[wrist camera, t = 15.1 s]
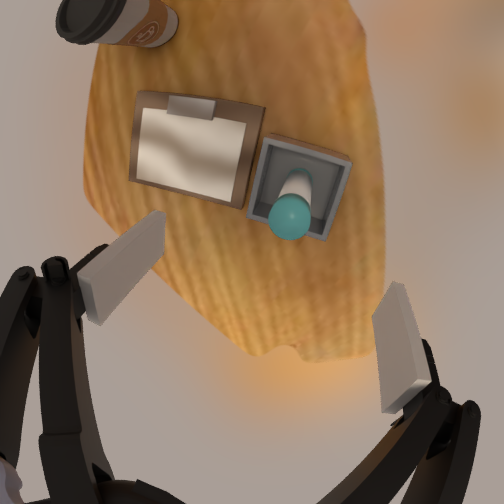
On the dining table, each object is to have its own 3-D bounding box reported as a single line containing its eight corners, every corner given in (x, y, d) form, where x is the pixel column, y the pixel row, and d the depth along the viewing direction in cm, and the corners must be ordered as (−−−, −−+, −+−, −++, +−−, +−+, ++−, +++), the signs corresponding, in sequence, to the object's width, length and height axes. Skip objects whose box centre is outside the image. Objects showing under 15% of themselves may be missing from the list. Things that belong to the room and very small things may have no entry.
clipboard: (142, 90, 31) (134, 90, 29) (265, 107, 29) (262, 107, 28) (133, 178, 38) (125, 182, 36) (243, 206, 36) (239, 212, 34)
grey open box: (271, 133, 31) (264, 137, 26) (347, 155, 30) (352, 163, 26) (255, 203, 35) (245, 217, 31) (324, 224, 35) (325, 241, 30)
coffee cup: (149, 66, 29) (65, 60, 16) (124, 30, 26) (45, 17, 14) (198, 27, 25) (126, -7, 13) (169, -8, 23) (97, -43, 10)
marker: (289, 164, 32) (273, 195, 20) (316, 172, 31) (315, 207, 20) (283, 189, 33) (264, 233, 22) (308, 196, 33) (303, 244, 22)
